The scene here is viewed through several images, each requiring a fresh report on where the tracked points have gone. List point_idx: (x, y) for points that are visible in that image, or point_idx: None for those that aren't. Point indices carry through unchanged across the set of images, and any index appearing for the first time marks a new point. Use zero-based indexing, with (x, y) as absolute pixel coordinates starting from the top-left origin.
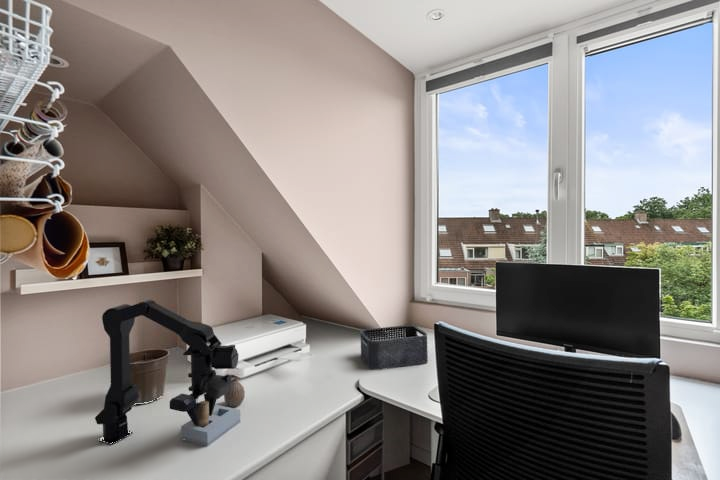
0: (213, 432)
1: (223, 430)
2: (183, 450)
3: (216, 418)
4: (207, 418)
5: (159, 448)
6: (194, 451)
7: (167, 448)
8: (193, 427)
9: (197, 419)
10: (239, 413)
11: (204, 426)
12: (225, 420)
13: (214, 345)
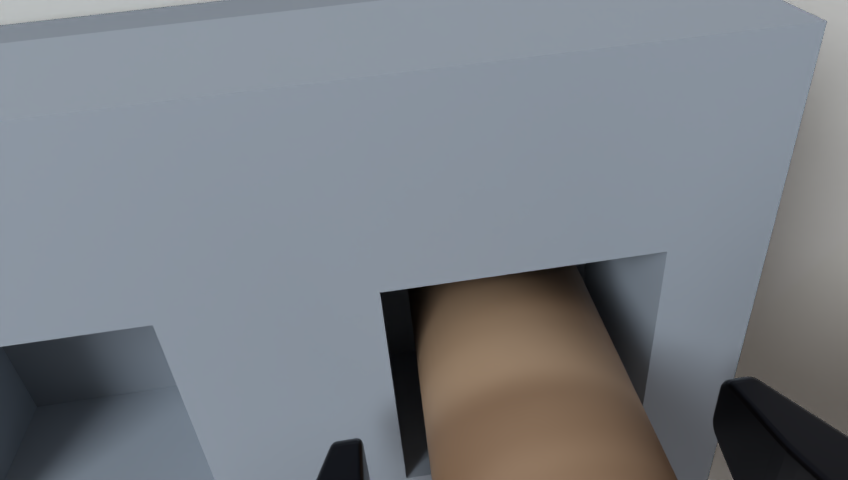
0: (592, 15)
1: (279, 16)
2: (820, 184)
3: (269, 322)
4: (540, 387)
5: (808, 410)
6: (830, 30)
7: (800, 356)
8: (691, 390)
9: (840, 456)
10: None
11: (570, 291)
12: (184, 93)
13: None
